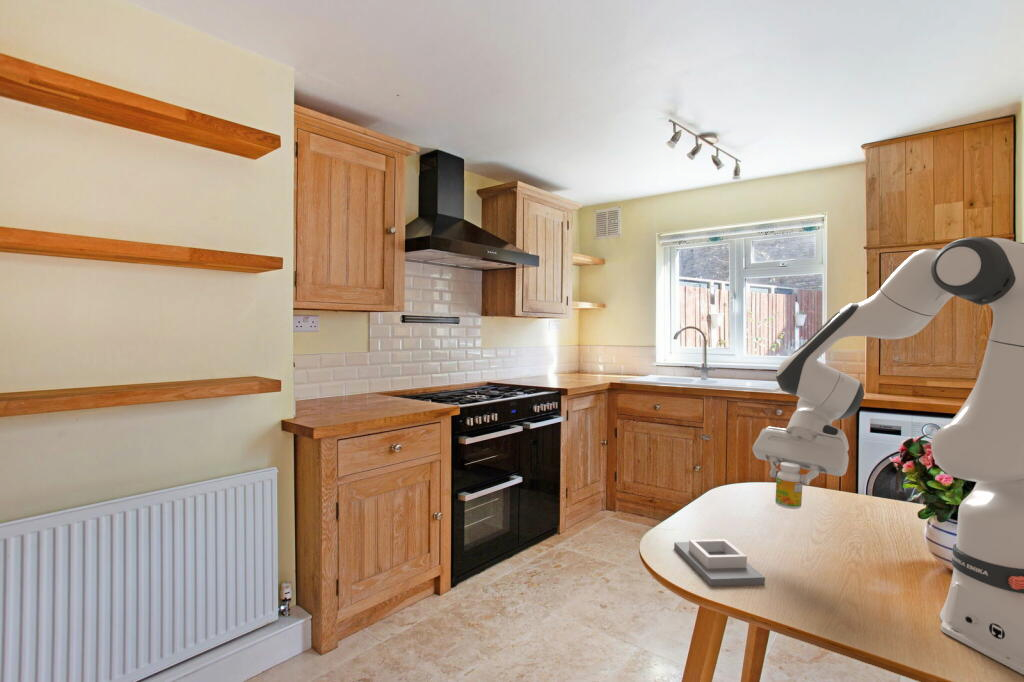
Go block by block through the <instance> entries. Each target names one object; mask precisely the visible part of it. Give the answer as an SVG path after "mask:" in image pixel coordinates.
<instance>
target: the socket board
mask: <svg viewBox="0 0 1024 682" xmlns="http://www.w3.org/2000/svg"><path fill="white" fill-rule="evenodd" d="M673 547H674V550H675V551H676V552H677V553H678V554H679V555H680V556H681V557H682V558H683V559H684V561H686V562H687V563H688V565H690V566H691V567H692V569H694V570H695V571H696V573H698V575H699V576H700V577H701V578H702V579H703V580H704V581H705V582H706V583H707V584H708V585H709V586H710V587H722V586H723V587H725V586H726V587H727V586H751V585H752V586H753V585H754V586H755V585H758V586H759V585H760V586H761V585H765V584H766V581H765V580H766V577H765V576H764V575H763V574H762V573H761V572H759V571H758V570H757V569H756V568H755V567H753V566H752V565H751V564H749V563H748V556H747V555H746V554H745V553H743V551H741V550H740V549H738V548H737V546H735V545H734V544H732V543H731V542H730V541H728V539H725V538H717V539H716V538H715V539H689V541H681V542H680V541H678V542H675V541H674V546H673Z"/></svg>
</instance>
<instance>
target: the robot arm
mask: <svg viewBox="0 0 1024 682" xmlns="http://www.w3.org/2000/svg"><path fill="white" fill-rule="evenodd" d="M955 296H956V297H958V298H961V299H964V300H966V301H969V302H970V303H974V304H975V305H979V306H984V305H988V306H989V307H990V309H991V311H992V317H993V318H992V320H993V321H992V325H991V329H990V332H989V337H988V341H987V344H986V348H985V350H984V351H985V352H984V357H983V360H982V362H981V363H982V364H981V366H980V370H979V374H978V377H977V379H976V381H975V384H974V385H973V388H972V390H971V392H970V393H969V395H968V397H967V398H966V400H965V401H964V403H963V404H962V406H961V407H960V409H959V410H958V412H957V413H956V414H955V416H953V418H952V419H951V420H949V421H948V422H947V423H946V424H945V425H943V426H942V427H941V428H939V429H938V430H937V431H936V432H935V433H934V435H933V437H932V439H931V444H930V445H931V446H930V450H931V455H932V457H933V460H934V462H935V463H936V464H937V466H938V467H939V468H940V469H941V470H942V471H943V472H944V473H946V475H949V476H951V477H953V478H957V479H961V480H965V481H969V482H975V485H974V487H973V489H972V490H971V491H970V493H969V494H968V495H967V496H966V497H965V498H963V500H962V501H961V502H960V503H959V507H958V513H957V514H958V515H957V529H956V540H955V541H956V542H955V543H954V544H953V546H952V552H951V565H952V566H953V568H952V569H953V570H952V571H953V572H952V574H951V575H952V576H951V580H950V586H949V589H948V594H947V597H946V599H945V602H944V605H943V607H942V609H941V611H940V612H939V619H940V620H941V625H940V631H941V632H943V633H944V634H945V635H947V636H949V637H951V638H953V639H955V640H957V641H959V642H961V643H962V644H965V645H966V646H968V647H970V648H972V649H974V650H975V651H978V652H979V653H982V654H984V655H986V656H987V657H989V658H991V659H993V660H995V661H997V662H998V663H1001V664H1002V665H1005V666H1006V667H1009V668H1010V669H1012V670H1014V671H1016V672H1017V673H1019V674H1021V675H1023V676H1024V242H1018V241H1013V240H1011V239H1008V238H1001V237H983V236H970V237H964V238H960V239H956V240H954V241H952V242H950V243H947V244H946V245H944V246H943V247H942V248H941V249H933V248H925V249H920V250H917V251H915V252H913V253H912V254H911V255H909V256H908V257H907V258H906V259H905V260H904V261H903V262H902V263H901V264H900V265H899V266H898V267H897V268H896V269H895V270H894V271H893V272H892V273H891V274H890V275H889V276H888V278H887V279H886V280H885V281H884V283H883V284H882V285H881V286H880V288H879V289H878V290H877V291H876V292H874V294H873V295H871V296H870V297H868V298H867V299H866V298H865V300H864V299H863V300H862V301H860V302H851V303H848V304H847V305H845V306H843V307H842V308H841V309H839V310H838V311H837V312H836V313H835V314H834V315H832V317H830V318H829V319H828V320H827V321H826V322H825V323H824V324H823V325H822V326H821V327H820V328H819V329H818V330H817V331H816V332H814V334H813V335H811V336H810V337H809V339H807V340H806V341H805V342H804V343H803V344H802V345H801V346H800V347H798V349H797V350H795V351H794V352H793V353H791V354H790V355H788V357H787V358H785V359H784V360H783V361H782V362H781V363H780V365H779V367H778V369H777V371H776V374H775V379H776V382H777V384H778V386H779V388H780V390H781V391H782V392H785V393H788V394H790V395H792V396H794V397H797V398H799V399H798V401H797V403H796V410H795V411H794V412H793V413H792V415H791V417H790V420H789V421H788V424H787V426H786V428H780V427H774V426H768V427H764V428H762V429H761V430H760V432H759V435H758V437H757V438H756V440H755V442H754V443H753V444H752V445H753V446H752V449H751V450H752V453H753V454H754V456H755V458H756V459H757V460H761V461H767V462H769V464H770V468H771V469H770V470H769V476H770V477H771V478H774V479H777V473H778V472H780V470H779V469H778V466H779V465H781V463H782V462H791V463H796V464H799V465H800V469H804V470H808V472H807V473H806V474H803V473H801V478H800V482H801V484H802V486H809V485H810V483H811V481H812V480H813V479H815V478H817V477H818V476H819V474H820V473H822V474H825V475H826V474H827V475H831V476H836V477H843V476H844V475H845V474H846V473H847V472H848V471H847V470H848V467H849V458H850V457H849V453H848V452H849V449H850V445H849V440H848V437H847V435H846V433H845V432H844V430H842V429H841V428H838V427H836V426H834V425H833V424H832V423H833V422H834V420H836V421H840V420H844V419H847V418H850V417H853V416H854V415H855V414H856V413H858V410H859V409H860V408H861V405H862V402H863V399H864V396H865V388H864V386H863V383H862V382H861V380H858V379H857V378H855V377H854V376H851V375H849V374H847V373H845V372H843V371H841V370H837V369H835V368H834V367H832V366H829V365H828V364H825V363H823V362H821V361H819V360H818V359H819V358H820V357H821V356H822V355H823V354H825V353H826V352H827V351H828V350H829V349H830V348H831V347H832V346H833V345H834V344H835V343H837V342H838V341H840V340H841V339H844V338H847V337H867V338H873V339H874V338H877V339H881V340H882V339H883V340H899V339H905V338H910V337H913V336H915V335H917V334H918V333H920V331H922V330H923V329H925V327H927V325H928V324H929V323H930V322H931V321H932V320H933V319H934V318H935V316H937V314H938V313H939V311H940V310H941V309H942V308H943V307H944V305H945V304H946V303H947V302H949V300H950V299H952V298H953V297H955Z"/></svg>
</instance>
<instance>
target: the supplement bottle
mask: <svg viewBox="0 0 1024 682" xmlns="http://www.w3.org/2000/svg"><path fill="white" fill-rule="evenodd" d="M779 465H780V466H779V467H780V468H779V469H780V470H779V472H778V473H777V478H776V482H775V484H776V486H775V500H774V501H775V505H777V506H778V507H781V508H785V509H791V510H797V509H798V510H799V509H801V507H802V500H803V484H801V482H800V478H801V476H802V474H800V473H799V472H800V470H801V468H800V465H799V464H796V463H791V462H782V463H781V464H779Z"/></svg>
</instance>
